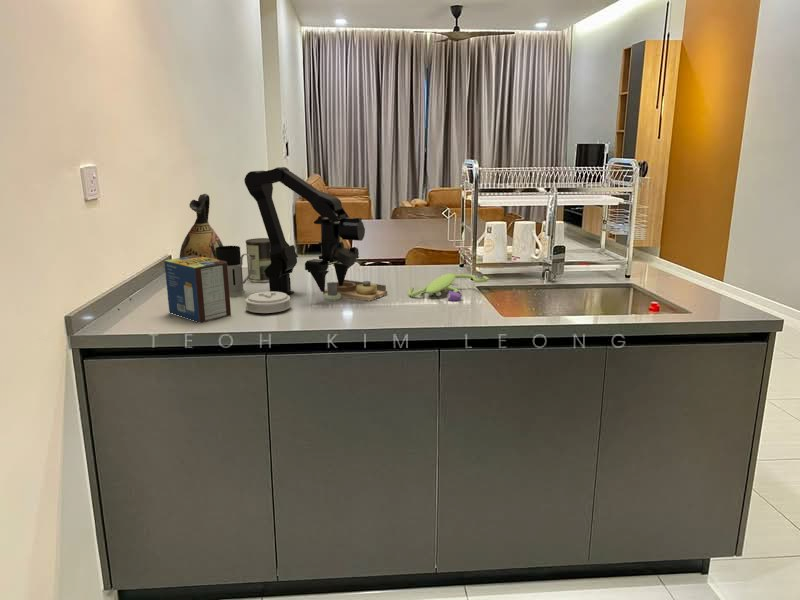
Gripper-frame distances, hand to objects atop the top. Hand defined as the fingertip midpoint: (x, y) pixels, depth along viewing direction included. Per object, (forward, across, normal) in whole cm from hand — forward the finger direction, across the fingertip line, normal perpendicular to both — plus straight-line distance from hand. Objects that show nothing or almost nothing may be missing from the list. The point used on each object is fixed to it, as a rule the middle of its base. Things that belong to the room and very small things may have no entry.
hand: (331, 288), depth 189 cm
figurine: (+4, +27, -28) cm, 39 cm away
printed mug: (+3, +9, +38) cm, 39 cm away
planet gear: (+3, 0, 0) cm, 3 cm away
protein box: (+3, -34, +21) cm, 40 cm away
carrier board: (+3, +8, -3) cm, 9 cm away
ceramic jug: (+3, -2, +55) cm, 55 cm away
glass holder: (+3, -12, +29) cm, 31 cm away
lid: (+4, -20, +8) cm, 22 cm away
